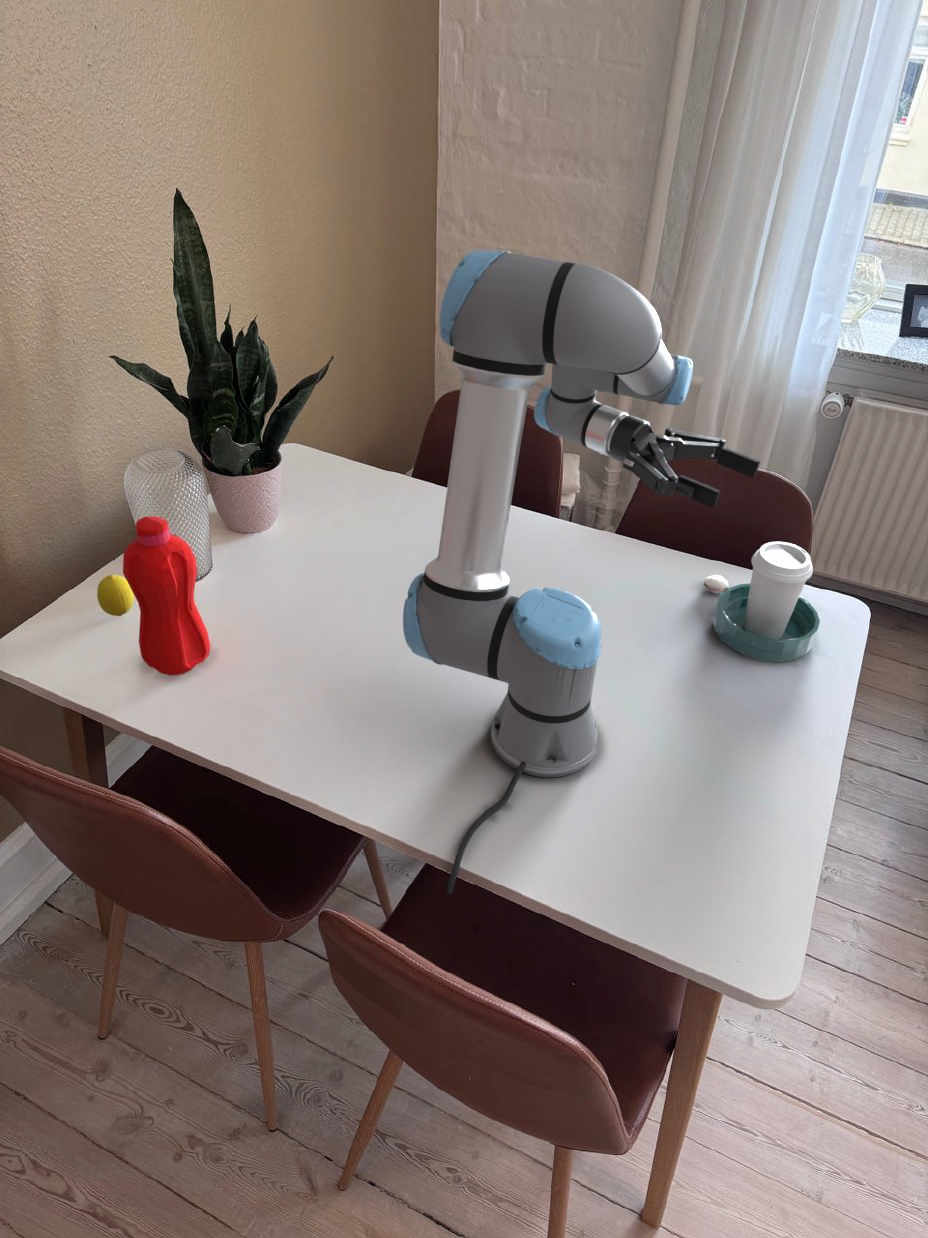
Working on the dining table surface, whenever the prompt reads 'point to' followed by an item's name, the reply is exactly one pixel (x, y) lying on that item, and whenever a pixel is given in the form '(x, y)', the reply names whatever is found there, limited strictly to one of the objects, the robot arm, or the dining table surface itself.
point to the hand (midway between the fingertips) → (737, 484)
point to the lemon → (115, 595)
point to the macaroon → (716, 584)
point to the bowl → (786, 648)
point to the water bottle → (165, 598)
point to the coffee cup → (775, 587)
